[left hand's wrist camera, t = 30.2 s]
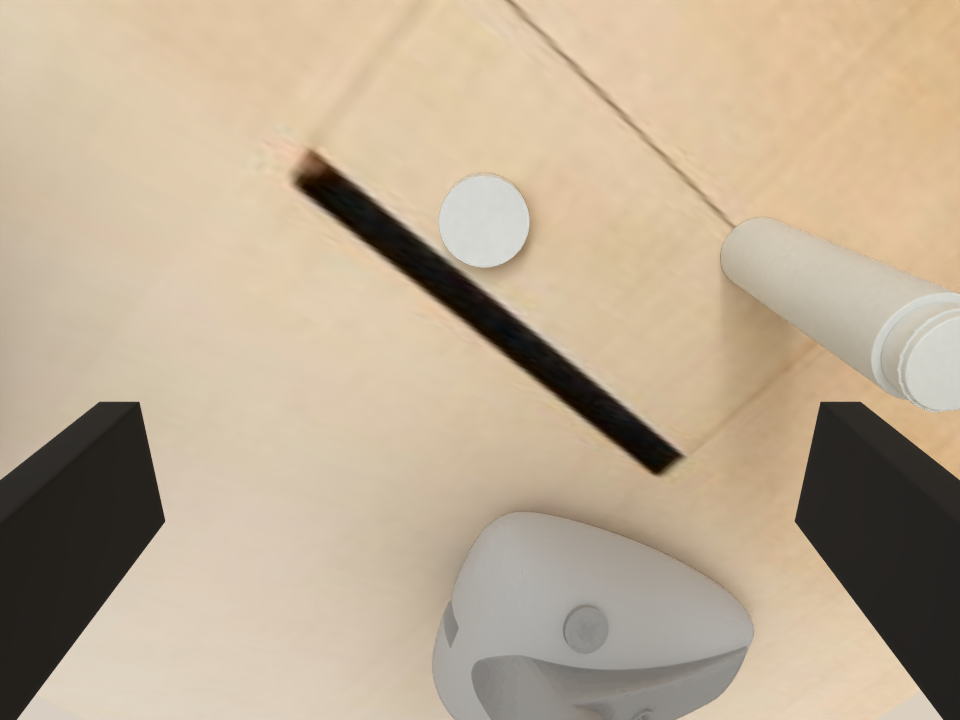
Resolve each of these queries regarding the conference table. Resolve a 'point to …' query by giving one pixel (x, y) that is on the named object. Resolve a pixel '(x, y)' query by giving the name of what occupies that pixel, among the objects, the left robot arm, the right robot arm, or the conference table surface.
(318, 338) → the conference table surface
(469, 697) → the projector
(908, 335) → the off-white tall cylinder
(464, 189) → the lid
